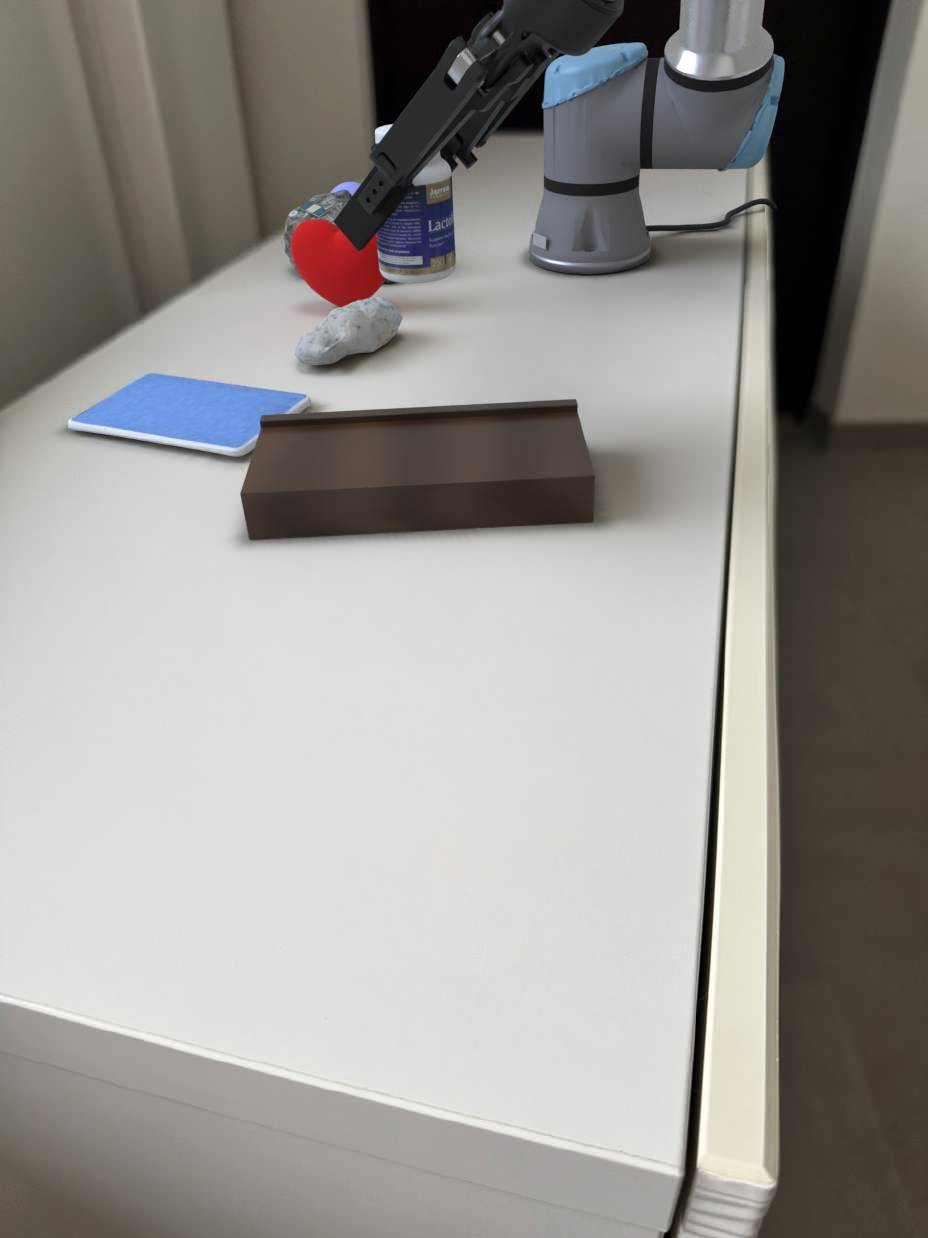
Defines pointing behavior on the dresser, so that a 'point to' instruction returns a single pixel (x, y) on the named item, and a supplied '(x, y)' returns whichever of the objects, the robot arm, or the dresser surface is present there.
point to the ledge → (418, 470)
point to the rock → (315, 215)
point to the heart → (335, 263)
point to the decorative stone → (350, 331)
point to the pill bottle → (420, 227)
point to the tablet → (188, 413)
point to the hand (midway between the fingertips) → (372, 222)
